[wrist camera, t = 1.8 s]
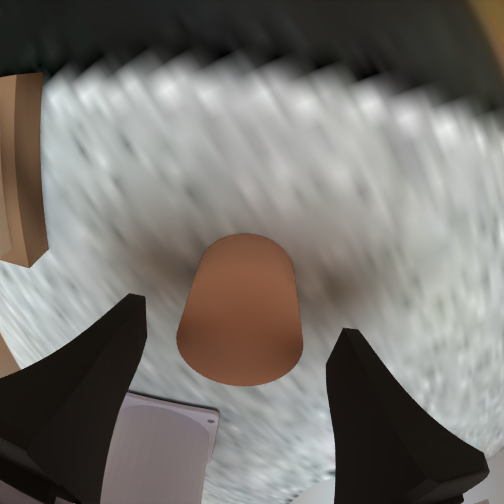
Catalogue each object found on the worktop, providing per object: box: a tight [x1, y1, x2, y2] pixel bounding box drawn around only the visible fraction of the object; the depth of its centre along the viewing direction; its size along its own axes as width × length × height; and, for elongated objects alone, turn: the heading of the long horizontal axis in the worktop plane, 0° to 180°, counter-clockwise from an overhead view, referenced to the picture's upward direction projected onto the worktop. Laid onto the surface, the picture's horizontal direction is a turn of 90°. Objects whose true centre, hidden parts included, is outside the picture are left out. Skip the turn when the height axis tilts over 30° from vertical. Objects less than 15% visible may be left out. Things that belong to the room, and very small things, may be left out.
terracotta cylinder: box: [176, 234, 303, 386], centre depth 13 cm, size 4×4×4 cm
